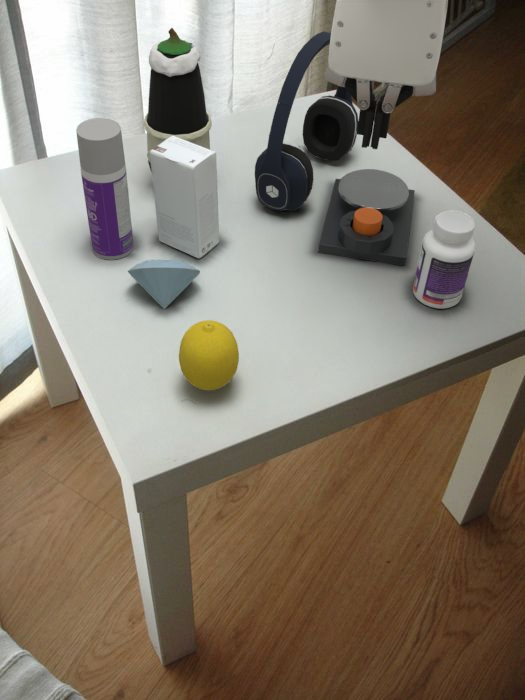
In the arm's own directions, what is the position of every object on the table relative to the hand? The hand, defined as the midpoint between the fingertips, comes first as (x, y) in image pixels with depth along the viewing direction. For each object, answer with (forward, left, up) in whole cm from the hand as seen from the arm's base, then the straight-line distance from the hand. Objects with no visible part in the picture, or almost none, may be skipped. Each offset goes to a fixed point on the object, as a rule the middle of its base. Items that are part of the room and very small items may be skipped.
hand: (371, 141), depth 80 cm
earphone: (+8, -14, -15) cm, 22 cm away
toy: (+23, -9, -15) cm, 29 cm away
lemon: (+11, +23, -15) cm, 30 cm away
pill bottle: (-10, +4, -15) cm, 18 cm away
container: (+27, +5, -15) cm, 31 cm away
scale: (-1, -7, -15) cm, 16 cm away
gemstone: (+19, +11, -15) cm, 27 cm away
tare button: (-1, -2, -12) cm, 12 cm away
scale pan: (-1, -9, -12) cm, 15 cm away
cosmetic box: (+19, +2, -15) cm, 24 cm away
